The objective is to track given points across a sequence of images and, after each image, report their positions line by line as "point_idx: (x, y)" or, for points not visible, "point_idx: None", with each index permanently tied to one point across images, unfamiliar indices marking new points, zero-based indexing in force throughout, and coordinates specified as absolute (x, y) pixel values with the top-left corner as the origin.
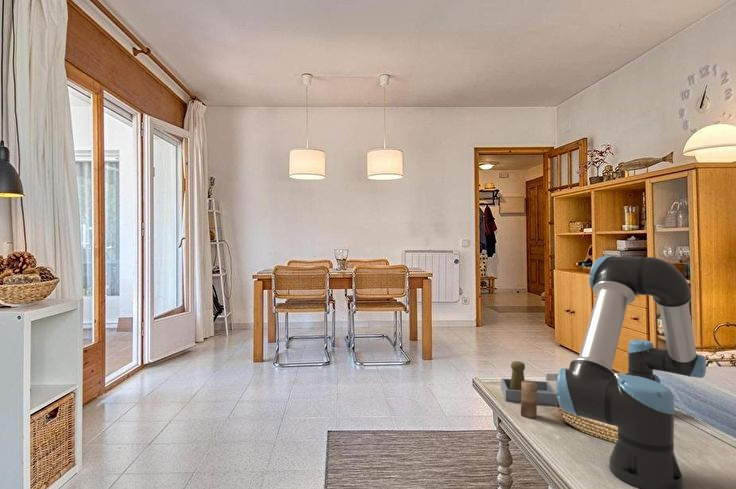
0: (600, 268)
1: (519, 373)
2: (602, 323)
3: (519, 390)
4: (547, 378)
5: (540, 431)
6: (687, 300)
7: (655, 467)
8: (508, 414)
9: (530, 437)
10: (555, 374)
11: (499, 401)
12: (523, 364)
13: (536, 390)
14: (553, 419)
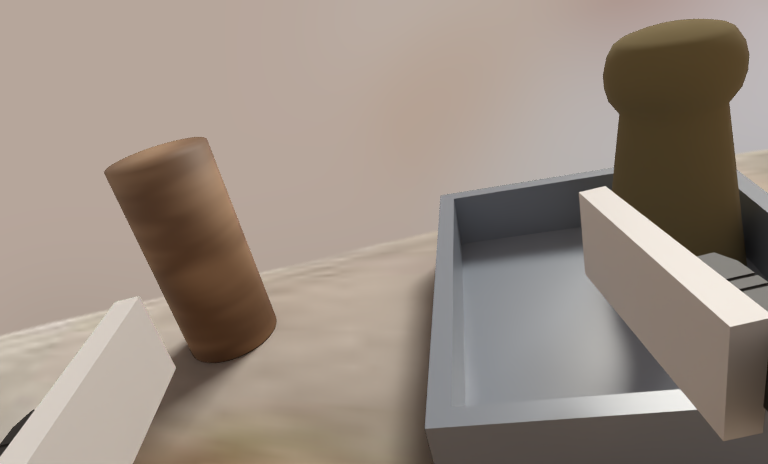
0: None
1: (621, 131)
2: None
3: (452, 230)
4: (591, 256)
5: (38, 369)
6: None
7: None
8: (260, 275)
9: (14, 338)
10: (637, 256)
11: (436, 239)
12: (655, 53)
13: (126, 213)
14: (145, 439)
